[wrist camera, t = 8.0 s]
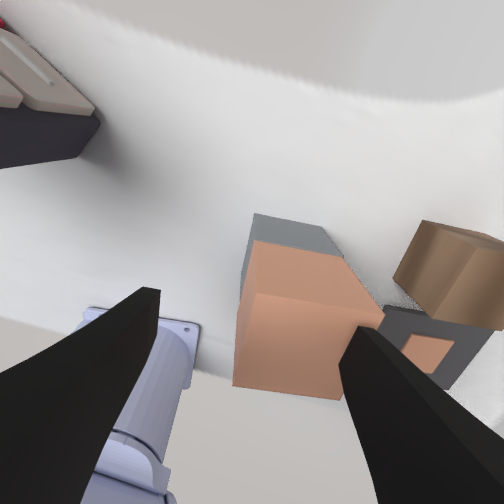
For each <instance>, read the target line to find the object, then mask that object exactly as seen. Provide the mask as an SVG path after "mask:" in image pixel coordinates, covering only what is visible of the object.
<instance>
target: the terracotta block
mask: <svg viewBox="0 0 504 504" xmlns="http://www.w3.org/2000/svg"><path fill="white" fill-rule="evenodd" d="M384 316H385V314H384V313H383V311H382V310H381V309H380V307H379V306H378V305H377V303H376V302H375V301H374V299H373V298H372V297H371V295H370V294H369V293H368V291H367V290H366V289H365V287H364V286H363V285H362V283H361V282H360V281H359V279H358V278H357V276H356V275H355V274H354V272H353V271H352V270H351V268H350V267H349V266H348V264H347V263H346V262H345V260H344V259H343V258H342V257H339V256H334V255H329V254H323V253H318V252H313V251H308V250H302V249H297V248H292V247H287V246H281V245H276V244H271V243H266V242H261V241H255V240H254V243H253V247H252V252H251V256H250V260H249V265H248V269H247V273H246V278H245V282H244V286H243V291H242V295H241V299H240V304H239V308H238V312H237V324H236V339H235V354H234V370H233V385H232V386H235V387H242V388H250V389H258V390H265V391H272V392H280V393H287V394H294V395H302V396H309V397H317V398H324V399H332V400H339V401H340V399H341V397H342V395H343V393H344V391H343V387H342V382H341V377H340V372H339V366H338V363H339V362H340V360H341V358H342V356H343V354H344V352H345V350H346V348H347V346H348V344H349V342H350V340H351V338H352V336H353V334H354V333H355V331H356V329H357V327H358V326H364V327H369V328H374V329H375V330H376V331H377V329H378V327H379V325H380V324H381V322H382V320H383V318H384Z"/></svg>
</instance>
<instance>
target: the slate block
mask: <svg viewBox="0 0 504 504" xmlns="http://www.w3.org/2000/svg"><path fill="white" fill-rule="evenodd" d="M254 240H255V241H261V242H266V243H271V244H276V245H281V246H287V247H292V248H297V249H302V250H308V251H313V252H318V253H323V254H329V255H334V256H339V257H342V258H343V257H344V255H343V254H342V253H341V251H340V250H339V249H338V248H337V246H336V245H335V244H334V242H333V241H332V240H331V238H330V237H329V236H328V235H327V233H326V232H325V231H324V229H323V228H322V227H320V226H315V225H310V224H305V223H300V222H295V221H290V220H285V219H280V218H275V217H270V216H265V215H260V214H255V213H254V217H253V222H252V227H251V231H250V236H249V240H248V245H247V249H246V254H245V258H244V263H243V268H242V272H241V286H240V299H241V295H242V291H243V286H244V282H245V278H246V273H247V269H248V265H249V260H250V256H251V252H252V247H253V243H254Z"/></svg>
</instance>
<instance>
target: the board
mask: <svg viewBox="0 0 504 504" xmlns="http://www.w3.org/2000/svg"><path fill="white" fill-rule="evenodd" d="M382 311H383V313H384V314H385V316H384V318H383V320H382V322H381V324H380V325H379V327H378V329H377V331H378V332H379V333H380V334H381V335H383V336H384V337H385V338H386V339H387V340H388V341H389V342H391V343H392V344H393V345H394V346H395V347H396V348H397V349H398V350H399V351H401V352H402V353H403V354H404V355H405V356H406V357H407V358H408V359H409V360H410V361H411V362H413V363H414V364H415V365H416V366H417V367H418V368H419V369H420V370H421V371H422V372H424V373H425V374H426V375H427V376H428V377H429V378H430V379H431V380H432V381H434V382H435V383H436V384H437V385H438V386H439V387H440V388H442V389H443V390H449V389H450V388H451V386H452V385H453V384H454V382H455V381H456V380H457V379H458V377H459V376H460V375H461V374H462V372H463V371H464V370H465V368H466V367H467V366H468V365H469V363H470V362H471V361H472V359H473V358H474V357H475V356H476V354H477V353H478V352H479V351H480V349H481V348H482V347H483V345H484V344H485V343H486V342H487V340H488V339H489V338H490V336H491V335H492V334H493V333H494V331H495V330H492V329H487V328H481V327H476V326H470V325H464V324H459V323H453V322H448V321H442V320H437V319H432V318H431V317H430V316H429V315H428V314H427V313H426V312H423V311H417V310H412V309H406V308H400V307H395V306H389V305H385V307H384V308H383V310H382Z"/></svg>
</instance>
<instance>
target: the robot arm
mask: <svg viewBox="0 0 504 504" xmlns="http://www.w3.org/2000/svg"><path fill="white" fill-rule="evenodd" d="M160 294H161V290H159V289H153V288H148V287H141V288H140V289H138V290H137V291H135V292H134V293H132V294H131V295H130V296H128V297H127V298H125V299H124V300H123V301H121V302H120V303H118V304H117V305H115V306H114V307H112V308H111V309H109V310H104V309H98V308H92V307H89V308H87V309H86V310H85V311H84V312H83V317H84V320H83V321H82V322H81V323H80V324H79V325H78V326H77V328H76V329H75V330H74V331H73V332H72V333H71V334H70V335H69V336H67V337H66V338H64V339H62V340H61V341H59V342H57V343H56V344H54V345H52V346H50V347H48V348H47V349H45V350H43V351H41V352H40V353H38V354H36V355H34V356H32V357H30V358H29V359H27V360H25V361H23V362H21V363H19V364H17V365H15V366H13V367H11V368H9V369H7V370H5V371H3V372H1V373H0V504H177V503H176V499H175V497H174V495H173V494H172V493H171V492H169V491H167V485H168V481H169V477H170V473H171V470H170V469H169V468H167V467H165V466H163V465H162V463H163V459H164V455H165V452H166V448H167V444H168V440H169V437H170V433H171V429H172V425H173V421H174V417H175V413H176V410H177V406H178V402H179V398H180V395H181V391H182V389H188V388H189V387H190V384H191V378H192V371H193V365H194V359H195V353H196V347H197V340H198V334H199V326H198V325H197V324H193V323H187V322H180V321H174V320H168V319H161V318H159V306H160ZM101 314H102V315H101ZM186 328H189V329H186ZM338 366H339V372H340V377H341V382H342V387H343V391H344V395H345V398H346V401H347V404H348V407H349V410H350V414H351V417H352V419H353V422H354V425H355V428H356V431H357V434H358V437H359V440H360V443H361V446H362V449H363V452H364V455H365V458H366V461H367V464H368V467H369V471H370V474H371V477H372V480H373V484H374V488H375V492H376V496H377V500H378V504H504V439H503V438H502V437H500V436H499V435H498V434H496V433H495V432H494V431H492V430H491V429H490V428H489V427H487V426H486V425H485V424H483V423H482V422H481V421H480V420H478V419H477V418H476V417H475V416H473V415H472V414H471V413H470V412H469V411H467V410H466V409H465V408H464V407H463V406H461V405H460V404H459V403H458V402H457V401H456V400H454V399H453V398H452V397H451V396H450V395H448V394H447V393H446V392H445V391H444V390H443V389H442V388H440V387H439V386H438V385H437V384H436V383H435V382H434V381H432V380H431V379H430V378H429V377H428V376H427V375H426V374H425V373H424V372H422V371H421V370H420V369H419V368H418V367H417V366H416V365H415V364H414V363H413V362H411V361H410V360H409V359H408V358H407V357H406V356H405V355H404V354H403V353H402V352H401V351H399V350H398V349H397V348H396V347H395V346H394V345H393V344H392V343H391V342H389V341H388V340H387V339H386V338H385V337H384V336H383V335H381V334H380V333H379V332H378V331H376V330H375V329H374V328H369V327H364V326H358V327H357V329H356V331H355V333H354V334H353V336H352V338H351V340H350V342H349V344H348V346H347V348H346V350H345V352H344V354H343V356H342V358H341V360H340V362H339V363H338Z"/></svg>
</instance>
